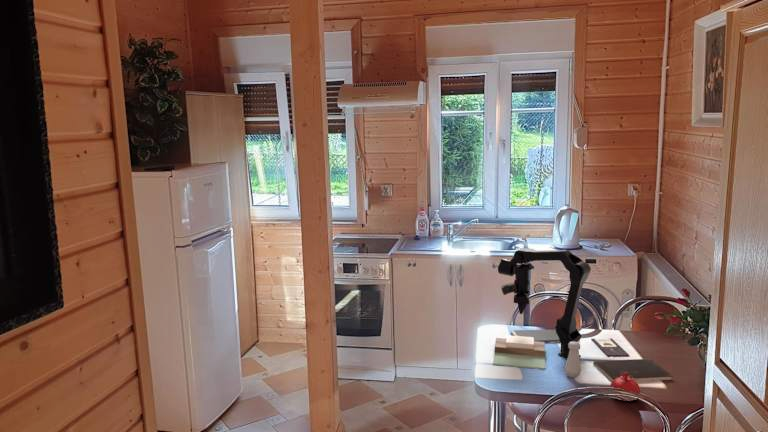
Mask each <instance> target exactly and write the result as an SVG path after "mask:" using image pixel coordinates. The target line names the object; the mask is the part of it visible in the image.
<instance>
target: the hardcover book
mask: <svg viewBox="0 0 768 432" xmlns="http://www.w3.org/2000/svg"><path fill="white" fill-rule="evenodd" d="M592 364H593V366H595V368H597V370H599V371H600V373H602V374H603V375H604V376H605V377H606V378H607V379H608V380H609V381H610V382H612V381H613V380H615V379H616V378H615V377H621V376H622V375H620V374H623V375H624V376H625V374H624V372H627V377H628V376H630V375H631V376H632V377H631V376H630V377H629V378H635V379H634V380H635V382H651V381H671V380H672V377H673V375H672V374H671V373H669V372H668V371H667V370H666V369H664V368H663V367H662V366H661V365H659V364H658V363H656V362H655V361H654V360H652V359H651V358H640V359H639V358H638V359H617V360H615V359H613V360H594V361H593V363H592ZM637 379H638V380H637Z"/></svg>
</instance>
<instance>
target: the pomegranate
mask: <svg viewBox="0 0 768 432" xmlns="http://www.w3.org/2000/svg"><path fill="white" fill-rule="evenodd" d="M624 374H625V376H624V375H623V374H620V375H622V376H621V377H615V378H616V379H615V380H613V381H610V382H611V383H610V385H609V386H610V387H614V388H620V389H624V390H628V391H632V392H636V393H640V394H641V393H642V392H641V388H640V385H639V383H638V381H635V380H634V379H635V378H629V377H630V376H631V375H630V376H628V377H627V372H624ZM631 377H632V376H631ZM637 380H638V379H637Z"/></svg>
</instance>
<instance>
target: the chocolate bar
mask: <svg viewBox="0 0 768 432" xmlns="http://www.w3.org/2000/svg"><path fill="white" fill-rule="evenodd" d="M591 342H593V343H594V345H595V346H596V347H598V348H599V350H600V351H602V353H603V354H604V355H605V356H606V357H609V358H611V357H630V354H629V353H628V352H627V351H626V350H625V349H623V347H621V346H620V345H619V344H618V343H617V342H616V341H615V340H614V339H613V338H591Z"/></svg>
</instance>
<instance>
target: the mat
mask: <svg viewBox="0 0 768 432" xmlns="http://www.w3.org/2000/svg"><path fill="white" fill-rule="evenodd" d="M493 354H494V355H493V361H492V363H493V364H492V365H493V366H502V365H503V366H505V367H513V368H514V367H517V368H527V369H537V370H546V356H545V357H540V356H528V355H517V354H505V353H495V352H494V353H493ZM503 366H502V367H503Z"/></svg>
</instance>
